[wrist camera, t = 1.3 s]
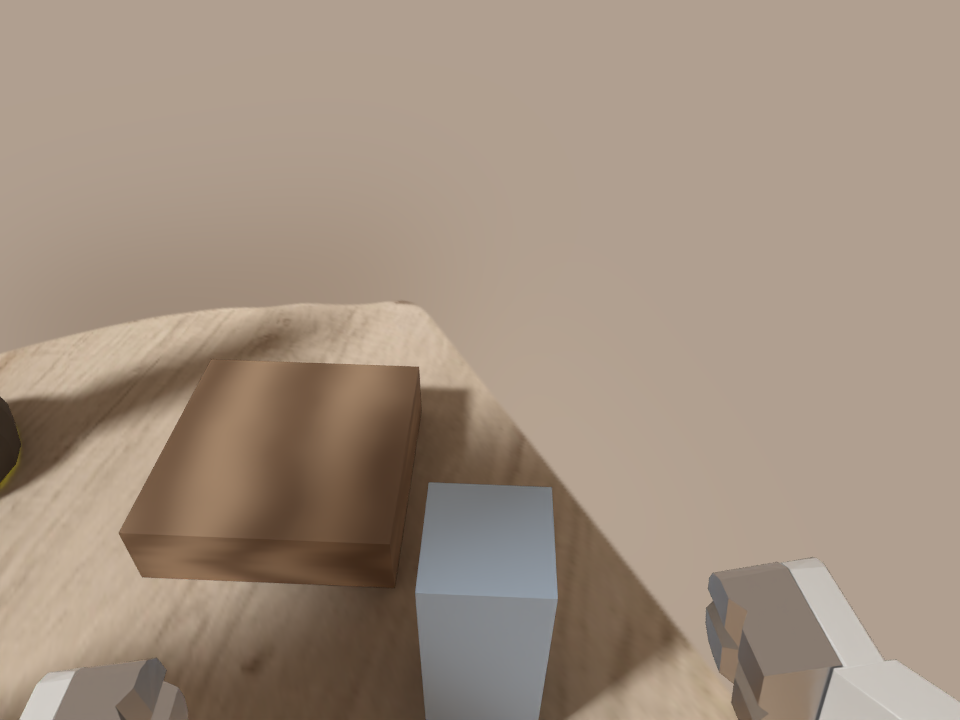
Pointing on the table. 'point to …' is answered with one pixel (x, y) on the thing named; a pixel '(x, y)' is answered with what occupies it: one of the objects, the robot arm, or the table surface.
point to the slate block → (486, 600)
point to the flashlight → (7, 440)
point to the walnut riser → (283, 477)
